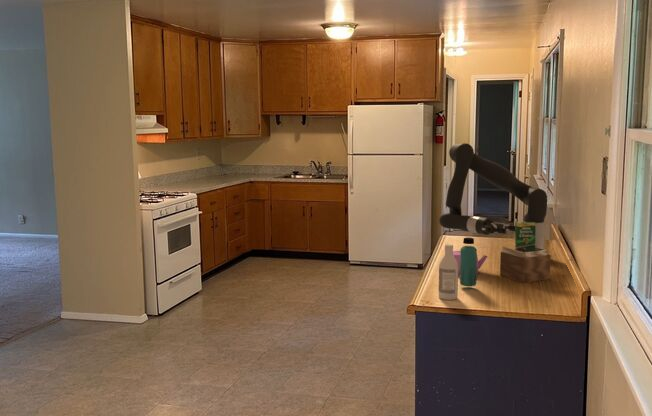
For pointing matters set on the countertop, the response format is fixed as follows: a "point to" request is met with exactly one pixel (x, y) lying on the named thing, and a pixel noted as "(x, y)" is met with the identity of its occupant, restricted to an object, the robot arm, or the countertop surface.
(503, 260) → the walnut stand
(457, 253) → the teapot
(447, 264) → the bath foam
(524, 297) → the countertop surface
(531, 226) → the coffee box
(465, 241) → the beverage bottle
